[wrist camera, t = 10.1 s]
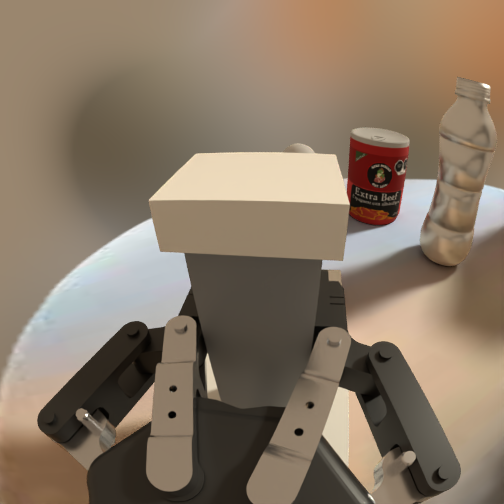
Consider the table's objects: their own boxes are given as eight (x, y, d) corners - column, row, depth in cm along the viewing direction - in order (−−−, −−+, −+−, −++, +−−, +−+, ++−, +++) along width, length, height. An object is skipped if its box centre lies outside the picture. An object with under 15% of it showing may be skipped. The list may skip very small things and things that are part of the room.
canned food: (343, 222, 38) (350, 137, 32) (346, 196, 44) (350, 124, 38) (401, 230, 36) (415, 146, 30) (395, 203, 42) (404, 132, 36)
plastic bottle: (470, 256, 31) (506, 92, 19) (454, 282, 27) (500, 88, 16) (428, 235, 35) (452, 76, 24) (406, 256, 32) (434, 71, 20)
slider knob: (309, 379, 18) (335, 154, 10) (306, 436, 15) (350, 204, 7) (230, 372, 19) (196, 153, 11) (216, 427, 15) (148, 200, 8)
